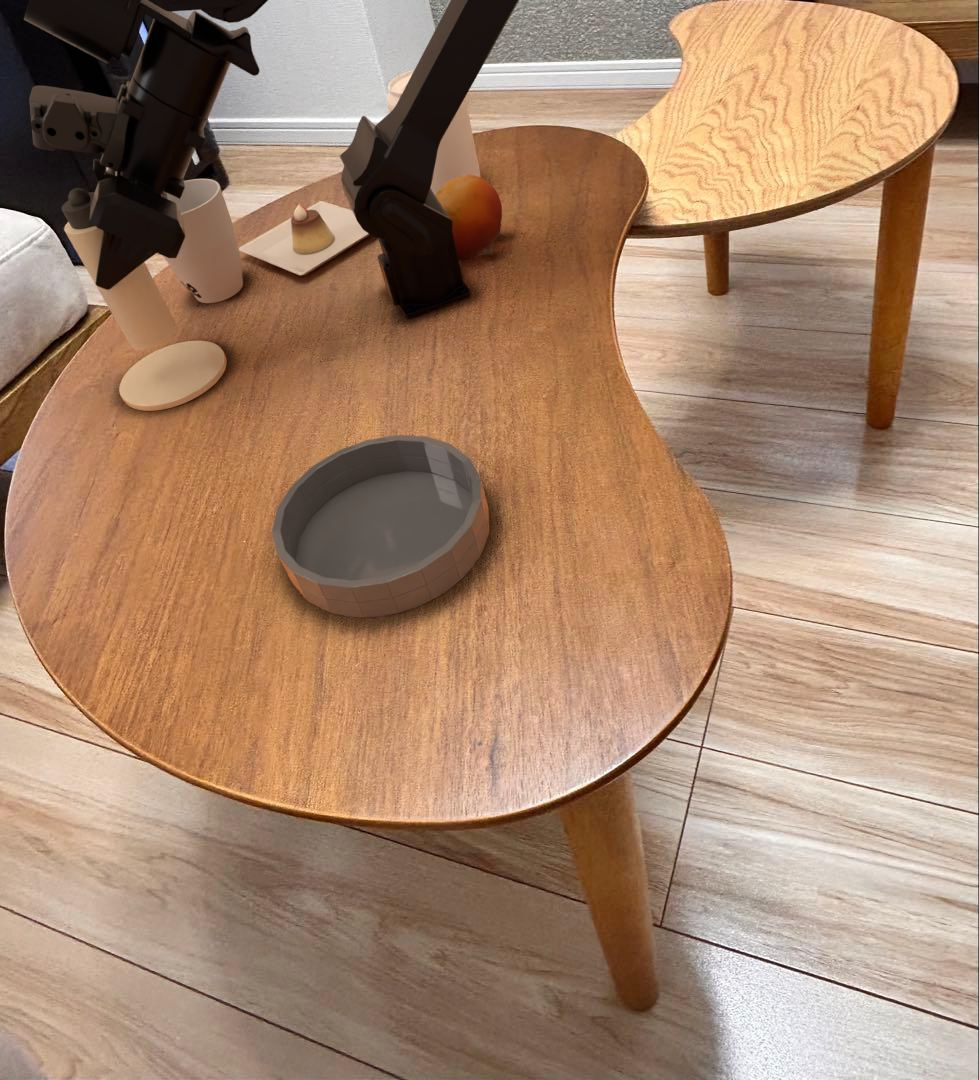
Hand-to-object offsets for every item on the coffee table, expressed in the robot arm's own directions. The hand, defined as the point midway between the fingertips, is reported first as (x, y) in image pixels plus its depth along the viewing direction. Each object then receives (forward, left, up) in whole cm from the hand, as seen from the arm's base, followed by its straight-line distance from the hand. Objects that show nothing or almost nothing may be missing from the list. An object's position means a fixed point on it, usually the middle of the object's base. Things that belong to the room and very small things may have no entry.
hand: (102, 274), depth 72 cm
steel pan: (-14, +31, -11) cm, 36 cm away
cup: (-7, -14, -11) cm, 19 cm away
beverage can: (-34, -19, -11) cm, 41 cm away
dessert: (-18, -17, -11) cm, 27 cm away
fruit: (-32, -5, -11) cm, 34 cm away
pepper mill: (-1, 0, -7) cm, 7 cm away
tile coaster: (-1, 0, -11) cm, 11 cm away
